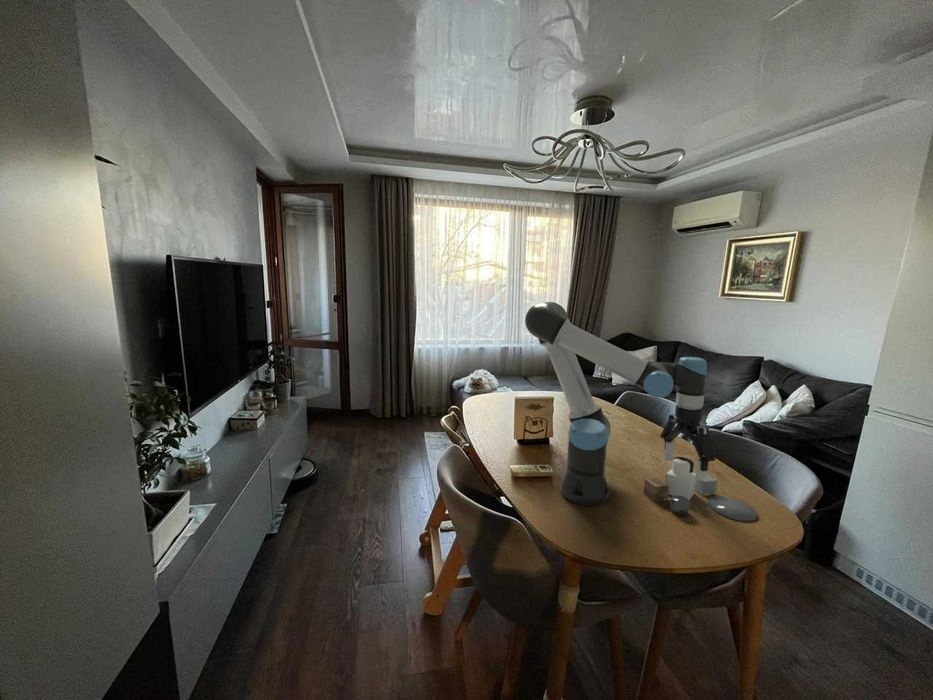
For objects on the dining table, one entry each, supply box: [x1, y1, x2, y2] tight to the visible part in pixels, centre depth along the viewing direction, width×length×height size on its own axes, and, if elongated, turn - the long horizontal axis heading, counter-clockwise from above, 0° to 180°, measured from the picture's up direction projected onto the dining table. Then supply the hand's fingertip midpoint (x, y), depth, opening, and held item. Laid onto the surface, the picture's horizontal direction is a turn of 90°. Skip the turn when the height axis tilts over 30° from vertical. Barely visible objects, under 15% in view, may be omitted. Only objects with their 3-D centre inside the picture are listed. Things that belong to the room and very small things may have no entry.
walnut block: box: [643, 477, 669, 502], centre depth 123 cm, size 5×5×5 cm
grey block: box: [695, 473, 718, 496], centre depth 127 cm, size 5×5×5 cm
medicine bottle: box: [665, 456, 696, 501], centre depth 124 cm, size 7×7×12 cm
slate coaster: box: [708, 496, 758, 522], centre depth 116 cm, size 12×12×1 cm
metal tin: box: [669, 495, 691, 518], centre depth 114 cm, size 5×5×4 cm
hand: (683, 469), depth 124 cm, fingers open, 13 cm apart
